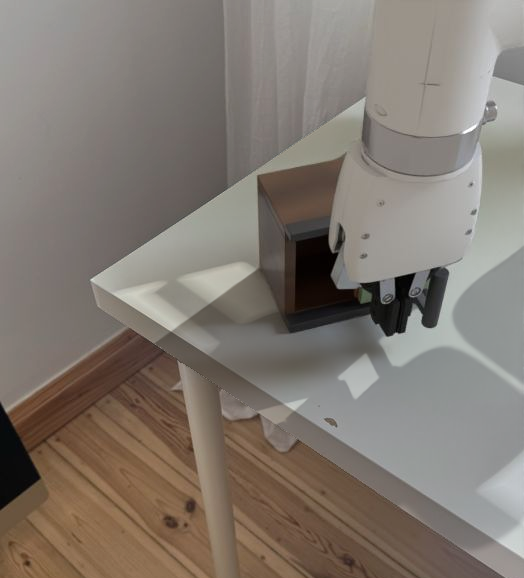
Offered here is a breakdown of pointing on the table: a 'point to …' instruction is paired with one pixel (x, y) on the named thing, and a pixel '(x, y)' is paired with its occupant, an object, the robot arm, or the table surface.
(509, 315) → the table surface
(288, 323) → the closet
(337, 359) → the table surface
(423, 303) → the door
